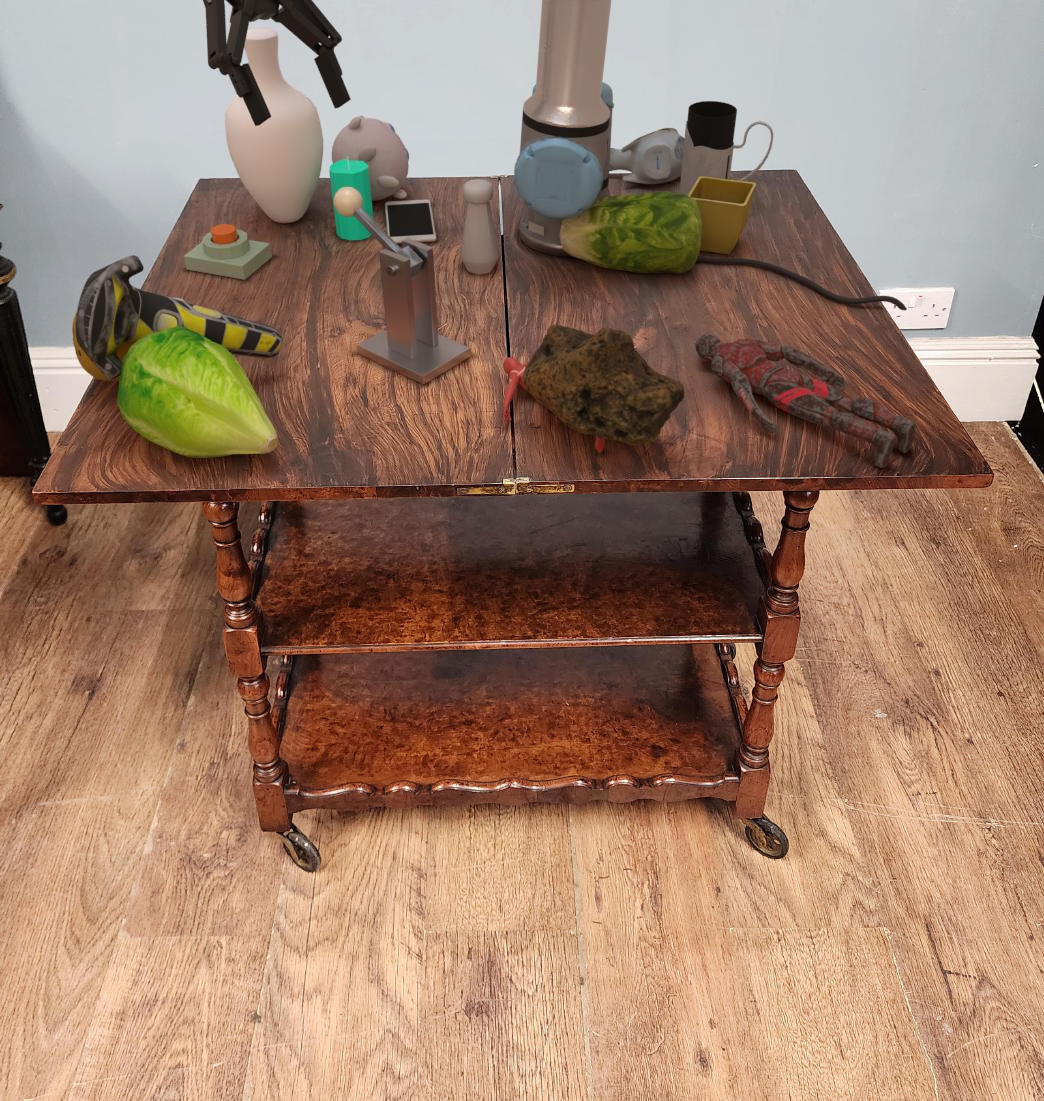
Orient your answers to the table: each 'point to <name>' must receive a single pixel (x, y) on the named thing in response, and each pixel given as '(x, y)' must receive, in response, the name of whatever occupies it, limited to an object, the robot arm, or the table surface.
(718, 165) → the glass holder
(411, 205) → the smartphone
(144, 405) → the lettuce
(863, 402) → the figurine
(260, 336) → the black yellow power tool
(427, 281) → the bracket
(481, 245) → the salt shaker
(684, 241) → the lettuce
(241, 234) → the button block
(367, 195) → the candle
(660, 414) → the rock
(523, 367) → the figurine
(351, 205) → the lever
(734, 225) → the flower pot
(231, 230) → the button
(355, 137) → the toy
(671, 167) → the white rounded ceramic body
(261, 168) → the vase
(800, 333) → the table surface
